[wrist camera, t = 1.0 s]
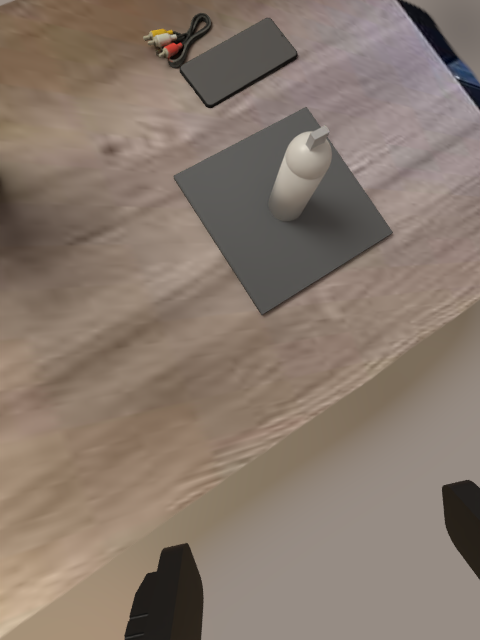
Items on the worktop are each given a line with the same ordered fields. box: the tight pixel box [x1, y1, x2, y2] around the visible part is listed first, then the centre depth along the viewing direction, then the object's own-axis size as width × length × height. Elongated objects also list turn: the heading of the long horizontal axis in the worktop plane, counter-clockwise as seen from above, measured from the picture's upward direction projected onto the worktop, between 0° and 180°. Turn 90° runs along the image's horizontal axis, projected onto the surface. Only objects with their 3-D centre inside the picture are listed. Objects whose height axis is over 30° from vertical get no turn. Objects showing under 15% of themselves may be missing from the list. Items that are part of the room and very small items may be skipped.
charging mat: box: [174, 107, 393, 315], centre depth 39 cm, size 20×20×1 cm
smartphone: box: [180, 18, 297, 108], centre depth 42 cm, size 7×1×15 cm
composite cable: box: [143, 13, 211, 68], centre depth 40 cm, size 10×5×2 cm, turn 129°
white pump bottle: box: [268, 125, 332, 222], centre depth 33 cm, size 4×4×12 cm
